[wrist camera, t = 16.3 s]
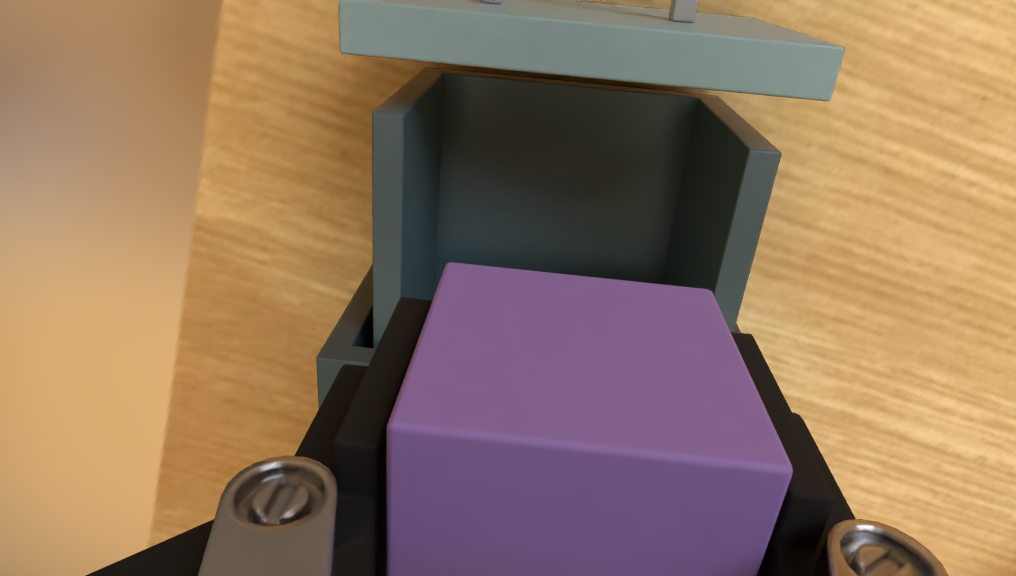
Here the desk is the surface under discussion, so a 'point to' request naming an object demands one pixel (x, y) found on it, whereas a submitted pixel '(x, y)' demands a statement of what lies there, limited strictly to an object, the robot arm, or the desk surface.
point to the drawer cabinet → (352, 338)
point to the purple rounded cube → (578, 434)
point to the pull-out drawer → (574, 141)
